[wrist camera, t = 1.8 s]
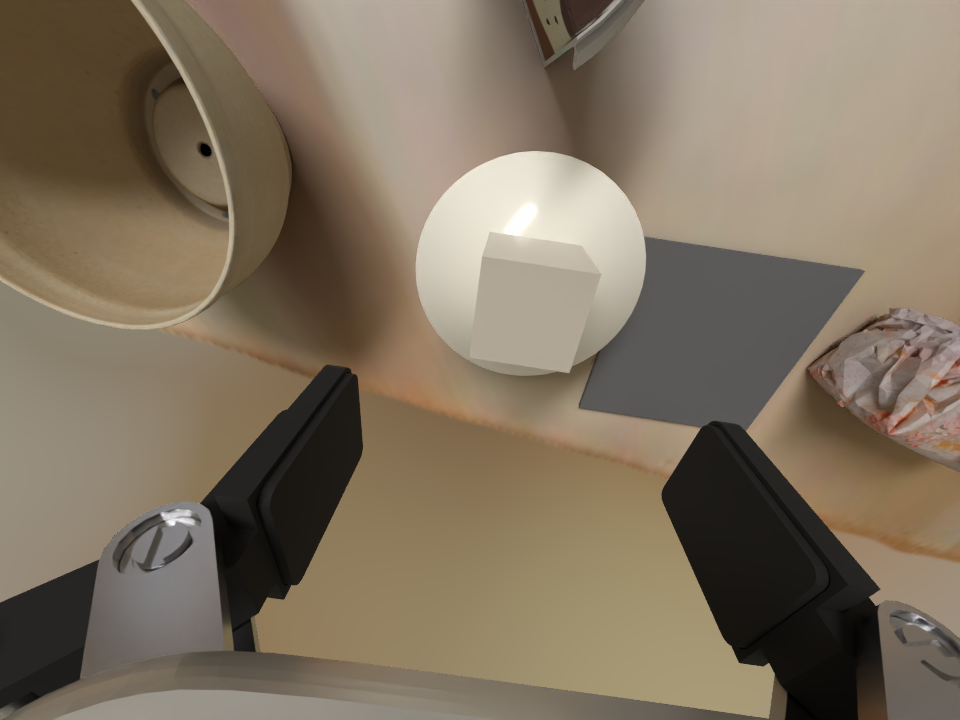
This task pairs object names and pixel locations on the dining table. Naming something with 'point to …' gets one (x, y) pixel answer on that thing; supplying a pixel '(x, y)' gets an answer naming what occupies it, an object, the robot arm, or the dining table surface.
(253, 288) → the dining table surface
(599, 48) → the food container
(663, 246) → the mat
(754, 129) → the dining table surface
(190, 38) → the planter bowl
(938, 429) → the food item
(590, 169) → the lid
